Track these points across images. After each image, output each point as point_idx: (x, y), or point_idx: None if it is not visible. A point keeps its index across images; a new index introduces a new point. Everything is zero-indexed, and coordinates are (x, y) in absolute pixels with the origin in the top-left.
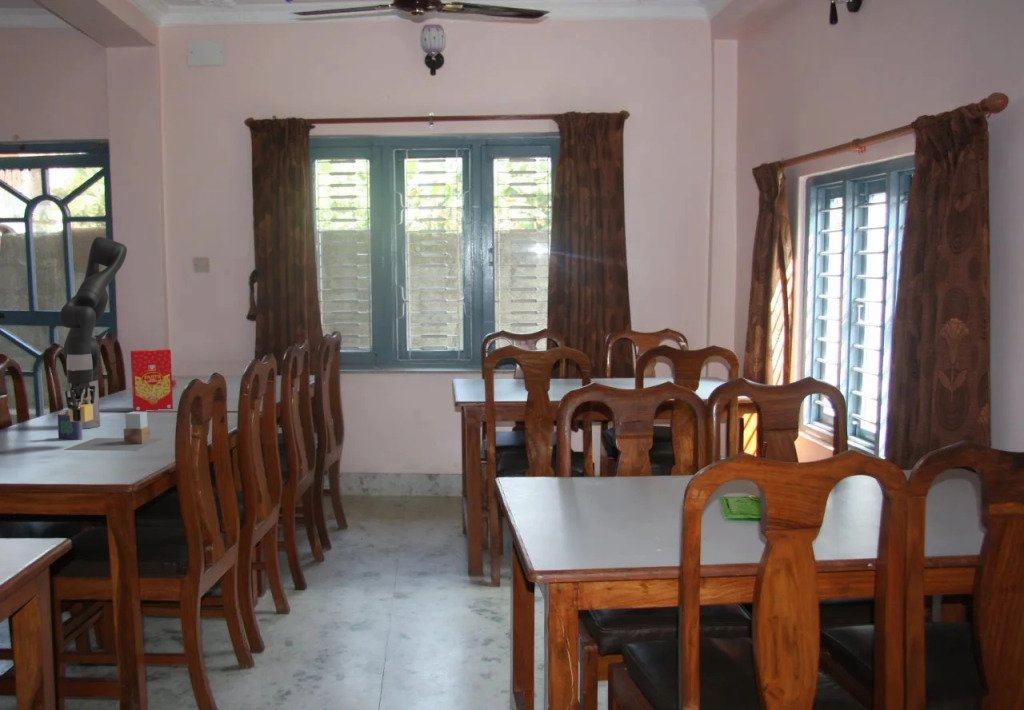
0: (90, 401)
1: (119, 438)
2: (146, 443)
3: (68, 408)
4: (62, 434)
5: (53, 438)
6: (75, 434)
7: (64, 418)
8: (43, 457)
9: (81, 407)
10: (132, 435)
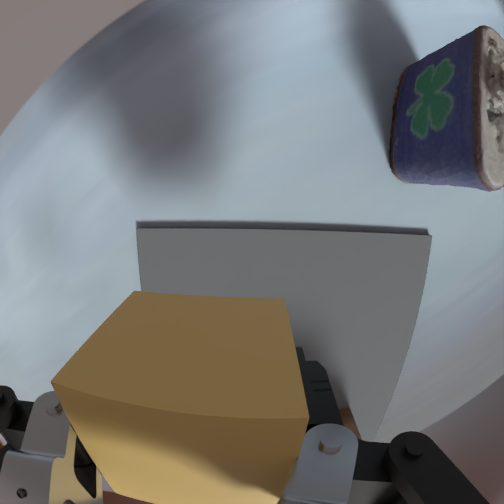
0: (364, 499)
1: (403, 343)
2: None
3: (2, 387)
4: (413, 81)
5: (427, 42)
6: (406, 155)
7: (463, 73)
8: (35, 220)
9: (108, 472)
10: None
